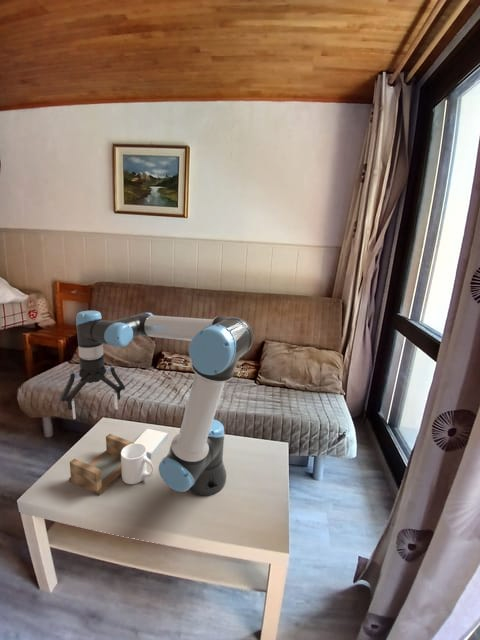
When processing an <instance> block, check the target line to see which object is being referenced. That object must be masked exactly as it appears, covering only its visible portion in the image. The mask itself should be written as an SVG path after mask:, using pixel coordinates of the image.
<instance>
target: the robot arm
mask: <svg viewBox="0 0 480 640" xmlns="http://www.w3.org/2000/svg"><path fill="white" fill-rule="evenodd" d="M75 319H76V320H75V321H76V322H75V323H76V324H75V326H76V336H77V344H78V357H79V358H78V359H79V360H78V361H79V371H70V373H69V379H68V380H67V382H66V385H65V387H64V389H63V392H62V394H61V396H60V400H61V402H66V403H67V408H68V411H72V420H76V419H77V415H76V407H75V406H76V405H75V398H76V397H77V395H78V393H80V391H81V389H82V388H83V387H84V386H86V384H87V383H89V384H92V383H99V382H100V381H101V382H102V383H103V382H104V383H105V384H106V385H107V386H109V387H110V388H111V389H113V390H112V391H113V407H114V409H115V410H118V409H119V407H118V406H119V405H118V401H119V400H121V391H122V390H125V389H126V386H125V384H124V383H123V382H122V380H121V379H120V377H119V375H118V374H117V373H116V370H115V367H114V365H113V364H111V365H109V366H107V367H106V366H105V356H104V345H108V346H111V347H118V348H124V347H127V346H128V345H129V344H130V343H131V342H132V341H133V339H136V338H138V337H150V338H151V337H152V338H162V339H169V340H170V339H171V340H178V341H179V340H180V341H189V342H190V344H189V350H188V355H189V358H190V359H191V368H192V370H193V372H194V374H195V375H194V378H193V381H192V385H191V388H190V392H189V396H188V400H187V403H186V406H185V411H184V414H183V418H182V422H181V426H180V428H179V433H178V434H176V435H175V436H174V437H173V439H172V440H171V444H170V446H169V451H168V453H167V454H166V456H165V457H163V458H162V459H161V461H160V462H159V464H158V472H159V475H160V477H161V479H162V480H163V482H164V484H165V485H167V486H168V487H169V488H170V489H172V490H174V491H176V492H179V493H182V492H183V493H185V492H187V491H189V492H191V493H192V494H196V495H199V496H210V495H211V496H212V495H215V494H217V493H219V492H220V491H221V490H222V489H223V488H224V487H225V485H226V482H227V471H226V468H225V464H224V461H223V459H224V457H223V455H224V445H225V444H224V442H225V434H226V433H225V427H224V425H223V423H222V422H220V421H219V420H217V419H215V415H216V412H217V409H218V406H219V402H220V399H221V396H222V393H223V391H224V387H225V384H226V382H229V381H230V380H232V378H233V377H234V373H235V370H236V368H237V364H238V361H239V359H240V358H242V357H243V356H244V355H245V354H246V353H248V352H249V351H250V349H251V348H252V346H253V343H254V339H255V337H254V332H253V329H252V326H251V325H250V324H249V322H247V321H246V320H245V319H243V318H241V317H237V316H215V317H214V318H213V319H212V318H196V317H181V316H169V315H167V316H166V315H155V314H153V313H152V312H141V313H139V314H134V315H132V316H131V315H130V316H128V317H122V318H119V319H116V320H112V321H111V320H106V319H103V318H102V314H101V312H100V311H98V310H85V311H84V310H83V311H79V312H78V313H77V314H76V317H75ZM107 372H108V373H109V374H111V375H112V377H113V378H114V380H115V381H116V382H117V384H118V385H117V384H115V383H114V382H113V381H112V380H111V379H109V378H108V377H107V375H105V374H106V373H107ZM78 377H80V379H79V382H78V383H77V384H76V385H75V386H74V388H72V386H73V385H74V383H75V380H77V379H78Z"/></svg>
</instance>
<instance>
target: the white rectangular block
mask: <svg viewBox="0 0 480 640" xmlns="http://www.w3.org/2000/svg"><path fill="white" fill-rule="evenodd" d="M168 439H169V433H168V432H165V431H159V430H155V429H151V428H146V430H144V432H143V433H142V434H141V435H139V436H138V438H137V439H135V441H134V443H140V444H143V445H144V446H145V447H146V449H147V458H149V460H151V459H153V457H154V456H156V454H157V453H158V451H159V450H160V449H161V447H163V445H164V443H166V442H167V440H168Z"/></svg>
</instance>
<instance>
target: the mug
mask: <svg viewBox="0 0 480 640" xmlns="http://www.w3.org/2000/svg"><path fill="white" fill-rule="evenodd" d="M147 464H148V465H149V466H150V467H151V472H149V471H148V469H147V468H148V467H147V466H148V465H147ZM121 470H122V476H121V479H122V481H123V482H124V484H126V485H127V484H128V485H137V484H139V483H141V482H142V481H144V479H146V478H148V477H151V476H152V475H153V473H154V465H153V462H152V460H151V459H149V458H147V449H146V447H145V446H144V445H143V444H140V443H134V444H130V445H127V446H126V447H124V448H123V449H122V451H121Z"/></svg>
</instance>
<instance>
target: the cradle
mask: <svg viewBox="0 0 480 640" xmlns="http://www.w3.org/2000/svg"><path fill="white" fill-rule="evenodd" d="M134 442H135V441H134ZM134 442H133V441H130V440H128V439H125V438H122V437H119V436H117V435H114V434H113V433H112V434H111V433H109V434H107V435H106V436H105V443H106V449H105V451H103V452H102V453H101V454H99V455H97V457H95V458H94V459H92V460H91V461H90V462H88V463H86V462H83V461H81V460H79V459H77V458H73V459H72V460H70V461H69V472H70V477H69V478H68V480H69V481H68V482H70V483H72V484H74V485H76V486H79V487H81V488H83V489H85V490H87V491H90V492H92V493H94V494H95V495H97V496H101V495H102V494H103V493H105V491H107V490H108V489H109V488H110V487H111V485H113V484H114V483H115V482H116V481H117V480H119V478H121V477H122V470H121V451H122V449H123V448H124V447H126V446H127V445H130V444H134Z"/></svg>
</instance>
